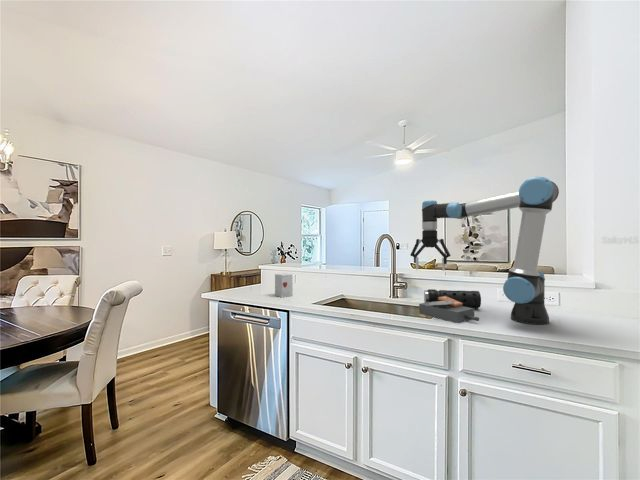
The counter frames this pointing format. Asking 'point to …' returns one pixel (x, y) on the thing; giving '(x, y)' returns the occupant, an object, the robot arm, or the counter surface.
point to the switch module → (448, 312)
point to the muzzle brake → (455, 297)
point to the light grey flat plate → (441, 302)
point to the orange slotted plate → (445, 298)
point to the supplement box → (283, 285)
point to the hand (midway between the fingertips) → (430, 269)
